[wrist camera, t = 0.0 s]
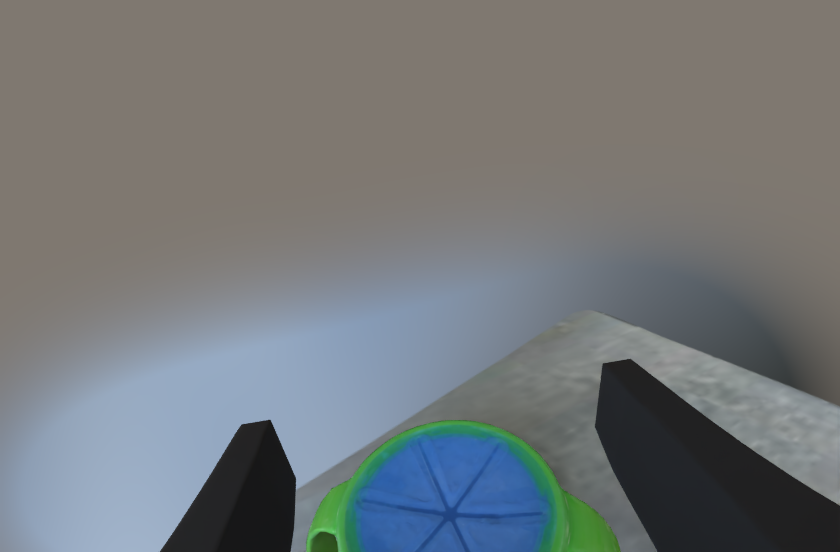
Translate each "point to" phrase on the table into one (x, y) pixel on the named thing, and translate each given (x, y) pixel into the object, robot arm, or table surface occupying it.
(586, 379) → the table surface
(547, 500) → the snack cup
